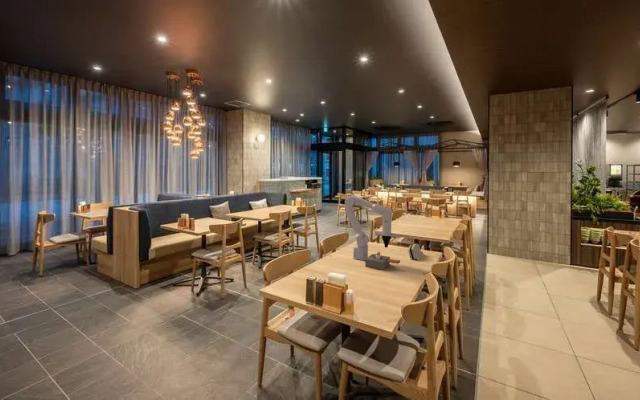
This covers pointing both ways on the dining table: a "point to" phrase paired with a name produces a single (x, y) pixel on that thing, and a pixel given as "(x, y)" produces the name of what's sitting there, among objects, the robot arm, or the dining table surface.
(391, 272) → the dining table surface
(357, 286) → the dining table surface
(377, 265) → the pin block
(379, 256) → the pin
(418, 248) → the hinge
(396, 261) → the bar
